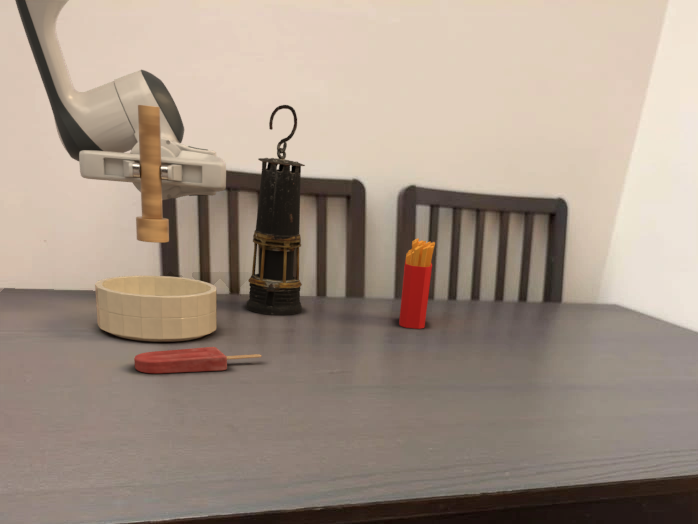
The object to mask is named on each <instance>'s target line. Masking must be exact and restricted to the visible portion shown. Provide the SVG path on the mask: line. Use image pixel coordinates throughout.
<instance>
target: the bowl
mask: <svg viewBox="0 0 698 524" xmlns="http://www.w3.org/2000/svg"><path fill="white" fill-rule="evenodd" d="M94 289H95V291H94V292H95V305H96V320H97V326H98V327H99V330H102V331H105V332H106V333H109V334H110V335H113V336H115V337H118V338H122V339H126V340H132V341H140V342H153V343H156V342H157V343H170V342H171V343H174V342H184V341H192V340H197V339H200V338H203V337H206V336H207V335H209V334H211V333H214V332H215V331H216V330H217V326H218V325H217V322H218V320H217V319H218V317H217V315H218V314H217V311H218V308H217V307H218V306H217V303H218V301H217V300H218V299H217V297H218V289H217V286H215V285H214V284H212V283H210V282H206V281H203V280H200V279H199V280H198V279H193V278H188V277H180V276H169V275H143V274H141V275H139V274H137V275H121V276H120V275H119V276H112V277H107V278H102V279H100V280H97V281H96V282H95V283H94Z"/></svg>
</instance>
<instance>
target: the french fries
mask: <svg viewBox="0 0 698 524" xmlns="http://www.w3.org/2000/svg"><path fill="white" fill-rule="evenodd" d="M435 245H436V242H435V241H432V242H431V241H428V242H427V240H423V239H421V240H420V238H418V237H417V238H415V239H414V240H412V241H411V249H409V250H408V251H407V252H406V254H405V255H406V256H405V260H404V267H403V268H404V269H403V277H402V287H401V290H402V291H401V299H400V308H399V310H400V311H399V321H398V325H399V326H400V327H403V328H407V329H415V330H416V329H418V330H420V329H425V327H426V319H427V310H428V303H429V294H430V287H431V280H432V279H431V278H432V269H433V263H432V259H433V254H434V249H435V247H436V246H435Z"/></svg>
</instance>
